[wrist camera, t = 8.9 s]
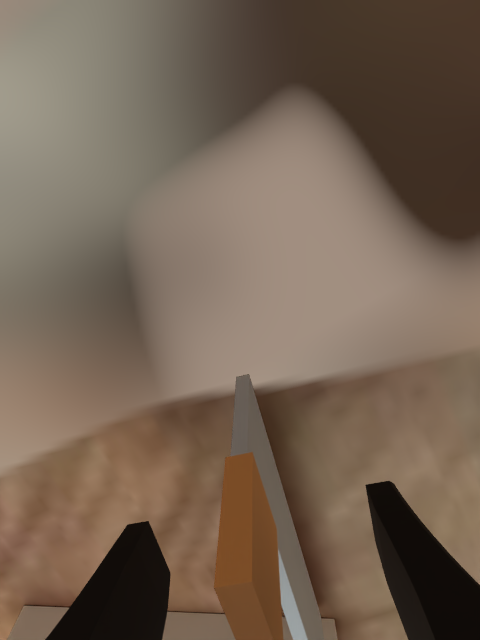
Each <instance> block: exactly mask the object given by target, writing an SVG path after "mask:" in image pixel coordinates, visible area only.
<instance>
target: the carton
mask: <svg viewBox="0 0 480 640" xmlns="http://www.w3.org/2000/svg"><path fill="white" fill-rule="evenodd" d="M68 609H69V608H67V607H43V606H23V608H22V610H21V612H20V614H19V616H18V619H17V621H16V623H15V625H14V627H13V629H12V631H11V633H10V635H9V637H8V639H7V640H45V639H46V638H47V637H48V635H49V634H50V633H51V631H52V630H53V629H54V628H55V626H56V625H57V624H58V622H59V621H60V620H61V618H62V617H63V616H64V614H65V613H66V612H67V610H68ZM321 621H322V628H323V635H324V640H338V638H337V633H336V627H335V621H334V619H326V618H321ZM282 625H283V640H293V638H292V635H291V632H290V629H289V626H288V623H287V620H286V617H282ZM162 640H235V637H234V635H233V632H232V630H231V628H230V625H229V623H228V620H227V618H226V615H225V614H208V613H184V612H167V617H166V622H165V628H164V633H163V638H162Z"/></svg>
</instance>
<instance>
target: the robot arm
mask: <svg viewBox="0 0 480 640" xmlns="http://www.w3.org/2000/svg"><path fill="white" fill-rule="evenodd" d="M366 490H367V496H368V502H369V507H370V513H371V519H372V524H373V530H374V535H375V541H376V545H377V549H378V552H379V556H380V559H381V563H382V567H383V570H384V574H385V577H386V581H387V584H388V587H389V589H390V592H391V595H392V597H393V600H394V603H395V605H396V608H397V611H398V613H399V616H400V618H401V621H402V624H403V626H404V629H405V632H406V634H407V637H408V639H409V640H480V585H479V584H478V583H477V582H476V581H475V580H474V579H473V578H472V577H471V576H470V575H469V574H468V573H467V572H466V571H465V570H464V569H463V568H462V567H461V566H460V565H459V563H458V562H457V561H456V560H455V559H454V558H453V557H452V556H451V555H450V554H449V553H448V552H447V550H446V549H445V548H444V547H443V546H442V545H441V544H440V543H439V541H438V540H437V539H436V538H435V537H434V536H433V535H432V534H431V532H430V531H429V530H428V529H427V528H426V526H425V525H424V524H423V523H422V522H421V520H420V519H419V518H418V517H417V515H416V514H415V513H414V512H413V510H412V509H411V508H410V506H409V505H408V504H407V502H406V501H405V500H404V498H403V497H402V495H401V494H400V492H399V491H398V489H397V488H396V486H395V485H394V483H392V482H390V481H386V482H380V483H374V484H368V485H366ZM169 586H170V571H169V568H168V566H167V564H166V561H165V559H164V557H163V554H162V552H161V550H160V547H159V545H158V543H157V540H156V538H155V535H154V533H153V531H152V528H151V526H150V524H149V521H146V522H140V523H134V524H128V525H127V526H126V528H125V529H124V531H123V532H122V533H121V535H120V536H119V538H118V539H117V541H116V542H115V544H114V545H113V546H112V548H111V549H110V551H109V552H108V554H107V555H106V557H105V558H104V560H103V561H102V563H101V564H100V566H99V567H98V568H97V570H96V571H95V573H94V574H93V576H92V577H91V579H90V580H89V581H88V583H87V584H86V586H85V587H84V588H83V590H82V591H81V593H80V594H79V596H78V597H77V598H76V600H75V601H74V602H73V604H72V605H71V606H70V608H69V609H68V610H67V612H66V613H65V614H64V616H63V617H62V618H61V620H60V621H59V622H58V624H57V625H56V626H55V628H54V629H53V630H52V631H51V633H50V634H49V635H48V637H47V638H46V639H45V640H162V638H163V633H164V628H165V622H166V617H167V609H168V599H169Z"/></svg>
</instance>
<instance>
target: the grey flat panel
mask: <svg viewBox="0 0 480 640" xmlns="http://www.w3.org/2000/svg"><path fill="white" fill-rule="evenodd" d="M214 589H215V591H216V594H217V596H218V599H219V601H220V603H221V606H222V608H223V611H224V613H225V615H226V618H227V620H228V623H229V625H230V628H231V630H232V632H233V635H234V637H235V640H283V625H282V608H283V611H284V614H285V617H286V620H287V623H288V626H289V629H290V632H291V635H292V638H293V640H324V635H323V628H322V621H321V615H320V611H319V608H318V605H317V601H316V598H315V594H314V591H313V588H312V584H311V581H310V578H309V574H308V571H307V568H306V564H305V561H304V557H303V554H302V551H301V547H300V544H299V541H298V537H297V534H296V531H295V527H294V524H293V520H292V517H291V514H290V510H289V507H288V504H287V500H286V497H285V494H284V490H283V487H282V483H281V480H280V477H279V473H278V470H277V467H276V463H275V460H274V457H273V453H272V450H271V447H270V443H269V440H268V436H267V433H266V430H265V426H264V423H263V420H262V416H261V413H260V410H259V406H258V403H257V399H256V396H255V393H254V389H253V386H252V383H251V379H250V376H249V374H247V375H243V376H239V377H236V389H235V403H234V416H233V430H232V444H231V456H230V457H226V458H225V469H224V481H223V492H222V503H221V514H220V526H219V537H218V548H217V559H216V571H215V582H214ZM281 606H282V608H281Z"/></svg>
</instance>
